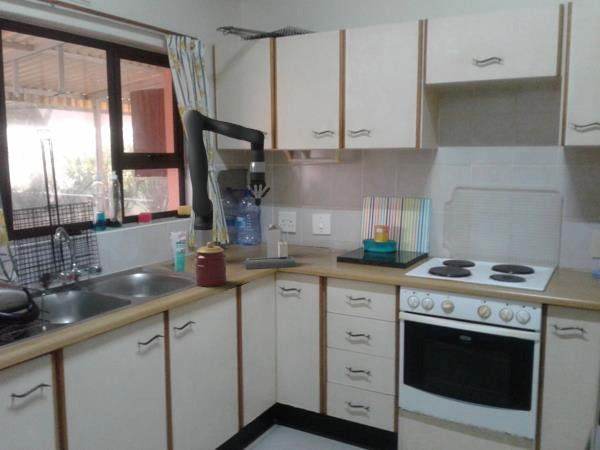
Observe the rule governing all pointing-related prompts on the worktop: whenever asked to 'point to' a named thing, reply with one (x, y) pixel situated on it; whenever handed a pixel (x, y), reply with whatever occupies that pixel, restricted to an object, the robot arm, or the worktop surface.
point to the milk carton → (273, 239)
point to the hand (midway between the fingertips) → (257, 205)
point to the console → (269, 262)
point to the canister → (210, 266)
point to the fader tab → (282, 250)
